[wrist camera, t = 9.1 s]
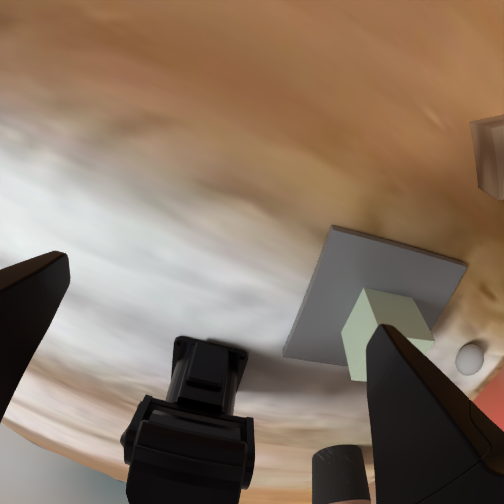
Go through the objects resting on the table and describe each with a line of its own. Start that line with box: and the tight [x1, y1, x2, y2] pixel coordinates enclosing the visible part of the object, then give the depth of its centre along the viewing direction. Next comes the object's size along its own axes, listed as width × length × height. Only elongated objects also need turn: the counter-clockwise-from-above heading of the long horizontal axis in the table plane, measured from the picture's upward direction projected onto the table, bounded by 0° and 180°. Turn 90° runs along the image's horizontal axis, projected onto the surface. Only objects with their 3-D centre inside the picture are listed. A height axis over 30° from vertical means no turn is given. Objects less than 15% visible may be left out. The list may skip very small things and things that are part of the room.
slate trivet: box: [283, 225, 467, 366], centre depth 24 cm, size 12×12×1 cm
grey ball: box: [456, 344, 484, 375], centre depth 25 cm, size 3×3×3 cm
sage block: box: [341, 288, 435, 382], centre depth 21 cm, size 4×4×5 cm
